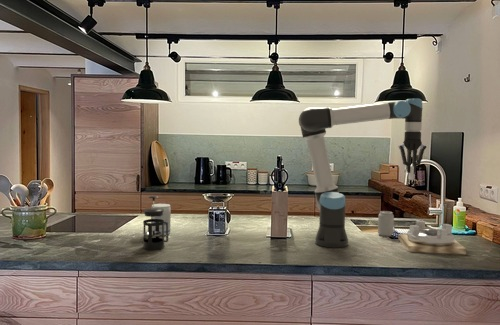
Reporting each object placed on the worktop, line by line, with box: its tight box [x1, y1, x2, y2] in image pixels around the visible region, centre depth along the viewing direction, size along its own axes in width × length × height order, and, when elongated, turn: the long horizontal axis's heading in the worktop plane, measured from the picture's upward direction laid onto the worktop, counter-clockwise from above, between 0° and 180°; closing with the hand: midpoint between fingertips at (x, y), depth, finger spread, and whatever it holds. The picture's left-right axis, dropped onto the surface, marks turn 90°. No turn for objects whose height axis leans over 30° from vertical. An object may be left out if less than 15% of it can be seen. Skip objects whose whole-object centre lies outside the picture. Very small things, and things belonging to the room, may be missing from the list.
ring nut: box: [406, 220, 455, 246], centre depth 198 cm, size 20×20×7 cm
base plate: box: [397, 233, 467, 255], centre depth 198 cm, size 24×22×3 cm
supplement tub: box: [150, 203, 172, 236], centre depth 214 cm, size 10×10×15 cm
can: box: [377, 210, 395, 237], centre depth 218 cm, size 8×8×12 cm
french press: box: [142, 195, 169, 251], centre depth 189 cm, size 12×9×23 cm
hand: (410, 179), depth 209 cm, fingers closed
